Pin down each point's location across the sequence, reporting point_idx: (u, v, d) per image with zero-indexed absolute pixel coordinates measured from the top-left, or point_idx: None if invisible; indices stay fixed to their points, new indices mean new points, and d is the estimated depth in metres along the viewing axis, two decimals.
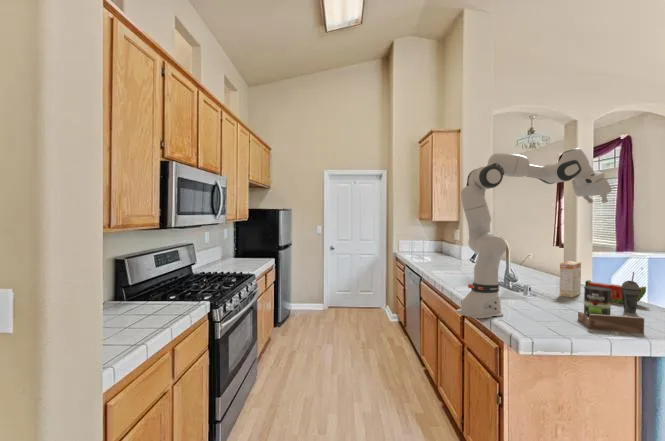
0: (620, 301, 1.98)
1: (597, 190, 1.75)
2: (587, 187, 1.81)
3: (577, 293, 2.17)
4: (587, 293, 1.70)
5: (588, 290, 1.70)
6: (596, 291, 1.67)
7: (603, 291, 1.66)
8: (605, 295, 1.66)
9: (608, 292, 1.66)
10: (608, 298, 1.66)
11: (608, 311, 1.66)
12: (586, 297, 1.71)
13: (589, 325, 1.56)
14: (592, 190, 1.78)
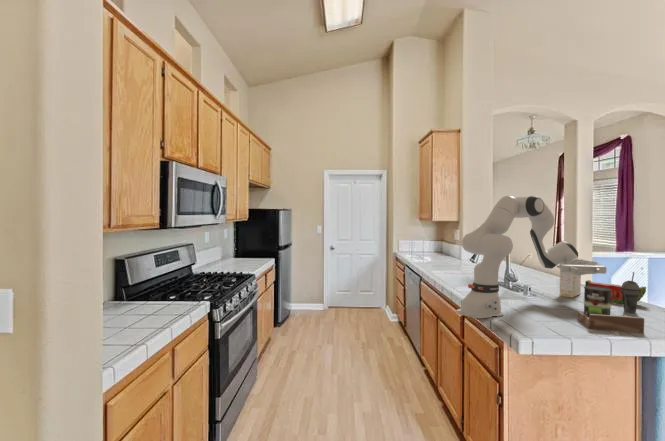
0: (620, 301, 1.98)
1: (595, 265, 1.88)
2: (581, 265, 1.91)
3: (577, 293, 2.17)
4: (587, 293, 1.70)
5: (588, 290, 1.70)
6: (596, 291, 1.67)
7: (603, 291, 1.66)
8: (605, 295, 1.66)
9: (608, 292, 1.66)
10: (608, 298, 1.66)
11: (608, 311, 1.66)
12: (586, 297, 1.71)
13: (589, 325, 1.56)
14: (588, 265, 1.89)
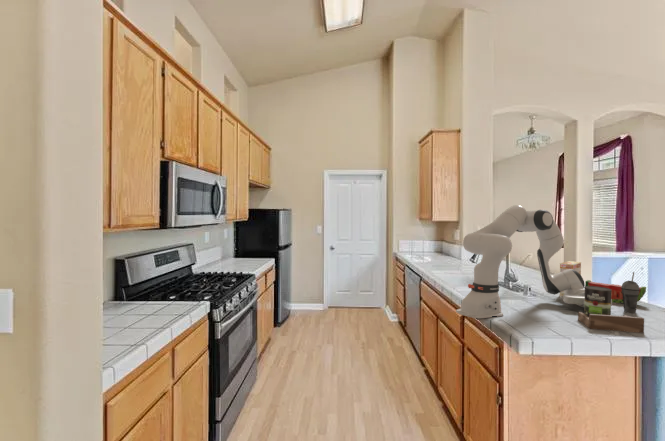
0: (620, 301, 1.98)
1: None
2: None
3: None
4: (587, 293, 1.70)
5: (588, 290, 1.70)
6: (596, 291, 1.67)
7: (603, 291, 1.66)
8: (605, 295, 1.66)
9: (608, 292, 1.66)
10: (608, 298, 1.66)
11: (608, 311, 1.66)
12: (586, 297, 1.71)
13: (589, 325, 1.56)
14: None
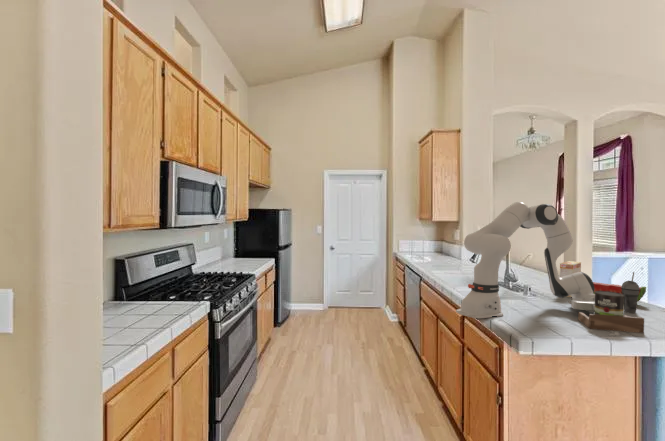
0: None
1: None
2: None
3: None
4: (598, 299, 1.59)
5: (599, 295, 1.59)
6: (608, 297, 1.56)
7: (615, 297, 1.55)
8: (617, 301, 1.55)
9: (621, 298, 1.55)
10: (621, 304, 1.55)
11: None
12: (597, 303, 1.60)
13: (589, 325, 1.56)
14: None
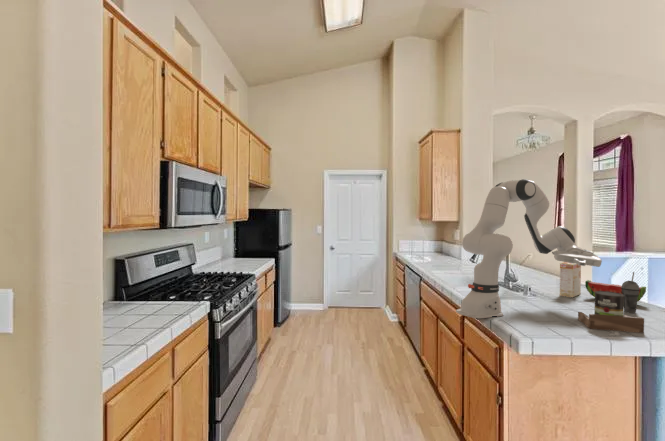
0: None
1: (591, 257, 1.83)
2: (577, 254, 1.86)
3: (577, 293, 2.17)
4: (598, 299, 1.59)
5: (599, 296, 1.59)
6: (608, 297, 1.56)
7: (615, 297, 1.55)
8: (617, 301, 1.55)
9: (621, 298, 1.55)
10: (621, 304, 1.55)
11: None
12: (597, 303, 1.60)
13: (589, 325, 1.56)
14: (584, 256, 1.84)
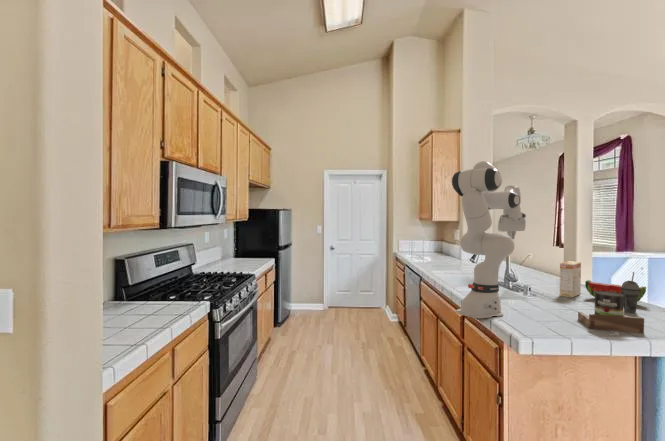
0: None
1: (521, 225, 2.08)
2: (514, 222, 2.06)
3: (577, 293, 2.17)
4: (598, 299, 1.59)
5: (599, 296, 1.59)
6: (608, 297, 1.56)
7: (615, 297, 1.55)
8: (617, 301, 1.55)
9: (621, 298, 1.55)
10: (621, 304, 1.55)
11: None
12: (597, 303, 1.60)
13: (589, 325, 1.56)
14: (517, 225, 2.07)
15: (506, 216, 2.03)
